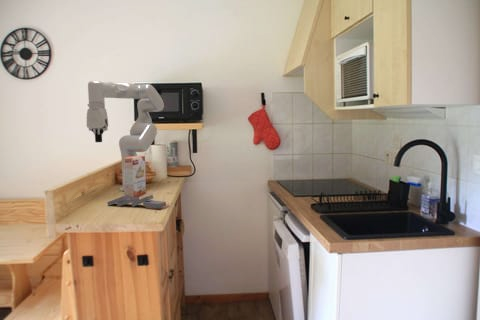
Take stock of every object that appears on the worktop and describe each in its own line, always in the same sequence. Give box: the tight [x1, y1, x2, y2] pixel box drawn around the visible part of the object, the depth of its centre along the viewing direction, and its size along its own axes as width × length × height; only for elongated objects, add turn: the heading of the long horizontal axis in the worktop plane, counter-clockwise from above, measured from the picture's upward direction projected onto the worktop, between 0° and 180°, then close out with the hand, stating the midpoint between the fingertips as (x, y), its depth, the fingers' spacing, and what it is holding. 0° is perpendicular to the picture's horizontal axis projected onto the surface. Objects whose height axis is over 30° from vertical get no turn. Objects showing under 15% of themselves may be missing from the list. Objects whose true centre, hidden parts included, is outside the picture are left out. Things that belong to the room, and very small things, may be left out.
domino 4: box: [142, 199, 167, 208], centre depth 166 cm, size 2×5×9 cm
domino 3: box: [130, 194, 154, 208], centre depth 169 cm, size 2×5×9 cm
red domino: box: [145, 203, 170, 210], centre depth 167 cm, size 2×5×9 cm
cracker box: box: [123, 155, 147, 199], centre depth 195 cm, size 14×6×21 cm, turn 168°
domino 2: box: [116, 195, 141, 207], centre depth 171 cm, size 2×5×9 cm
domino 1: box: [106, 195, 131, 207], centre depth 173 cm, size 2×5×9 cm
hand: (98, 142), depth 187 cm, fingers closed
